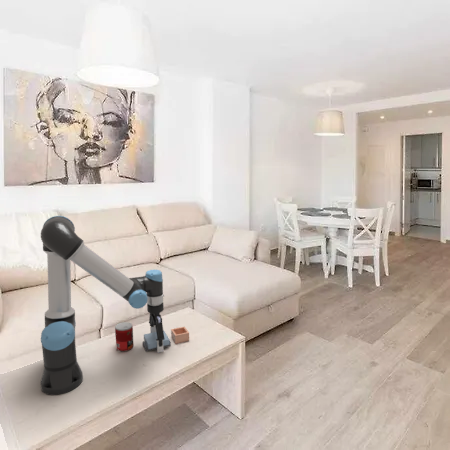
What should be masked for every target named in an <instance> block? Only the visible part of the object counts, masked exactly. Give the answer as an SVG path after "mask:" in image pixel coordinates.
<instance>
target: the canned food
mask: <svg viewBox="0 0 450 450" xmlns="http://www.w3.org/2000/svg"><path fill="white" fill-rule="evenodd" d="M133 328H134V327H133V323H132V322H130V321H129V322H128V321H123V322H120V323H117V324H115V327H114V333H115V346H116V350H118V351H119V352H127V351H130V350H131V349H132V348H133V347H134V332H133V331H134V329H133Z"/></svg>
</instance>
